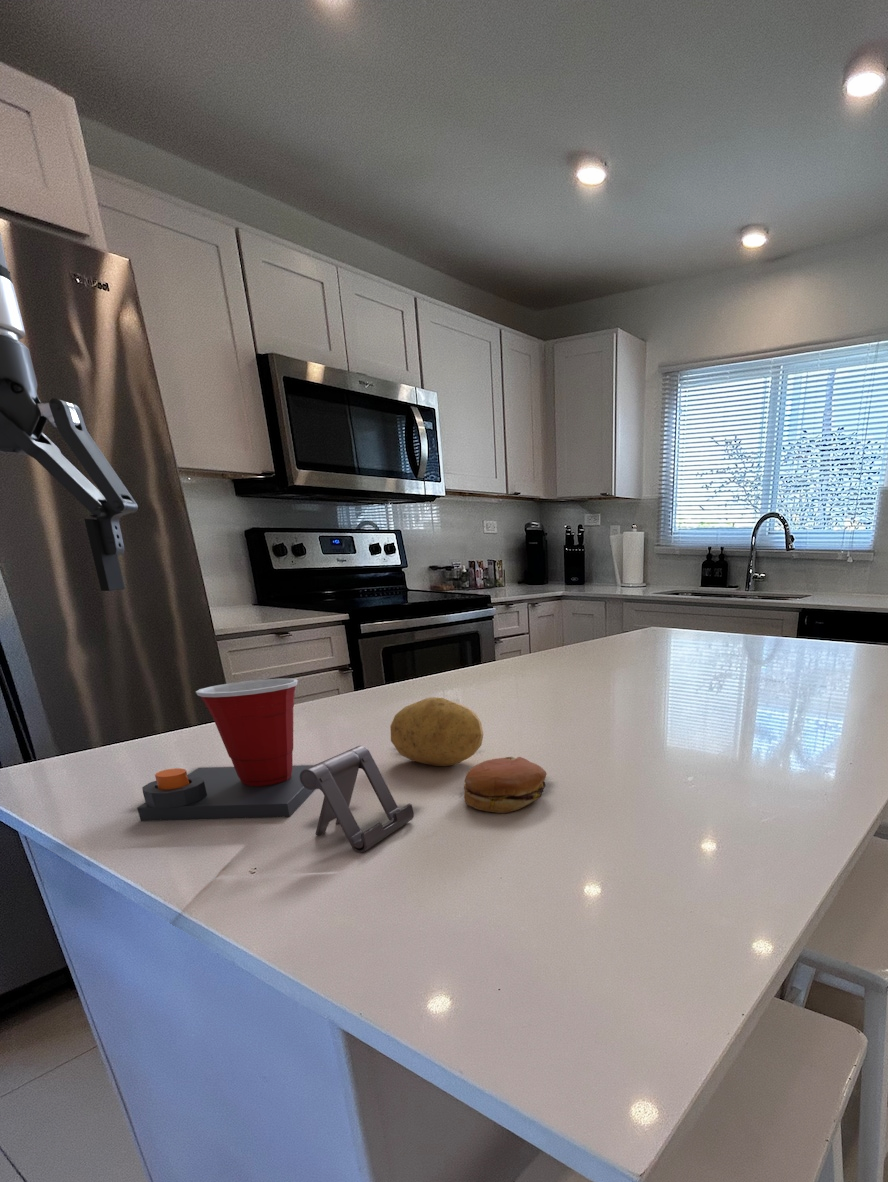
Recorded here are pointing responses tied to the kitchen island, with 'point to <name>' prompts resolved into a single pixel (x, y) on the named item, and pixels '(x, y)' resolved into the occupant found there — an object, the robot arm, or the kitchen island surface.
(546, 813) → the kitchen island surface
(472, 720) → the potato
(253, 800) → the scale
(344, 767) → the tablet stand
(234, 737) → the plastic cup
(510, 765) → the burger
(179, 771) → the button
